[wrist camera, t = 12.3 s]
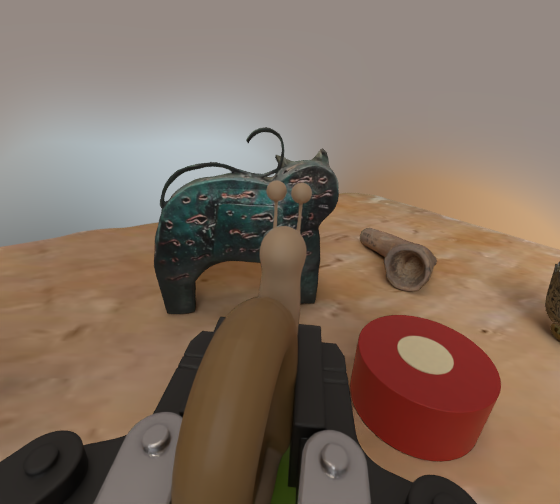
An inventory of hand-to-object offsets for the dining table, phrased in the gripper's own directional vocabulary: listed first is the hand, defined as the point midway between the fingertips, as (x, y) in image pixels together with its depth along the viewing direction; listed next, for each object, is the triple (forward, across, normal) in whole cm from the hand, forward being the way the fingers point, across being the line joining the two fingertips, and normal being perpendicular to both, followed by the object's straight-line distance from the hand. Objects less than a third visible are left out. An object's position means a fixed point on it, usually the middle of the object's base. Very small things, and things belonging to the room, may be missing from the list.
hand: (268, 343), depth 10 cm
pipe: (+36, -15, +14) cm, 42 cm away
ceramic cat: (+23, +5, +15) cm, 28 cm away
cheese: (+11, -11, +14) cm, 21 cm away
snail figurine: (-3, 0, +7) cm, 7 cm away
